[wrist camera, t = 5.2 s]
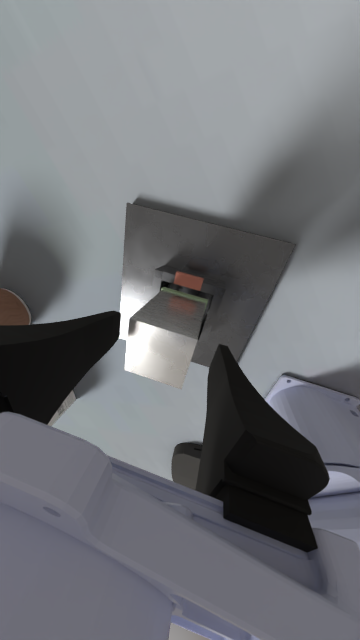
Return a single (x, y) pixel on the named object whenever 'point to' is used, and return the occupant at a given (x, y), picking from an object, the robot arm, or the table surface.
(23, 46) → the table surface
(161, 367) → the column
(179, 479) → the media streaming box
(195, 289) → the stand
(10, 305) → the coffee cup
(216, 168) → the table surface
